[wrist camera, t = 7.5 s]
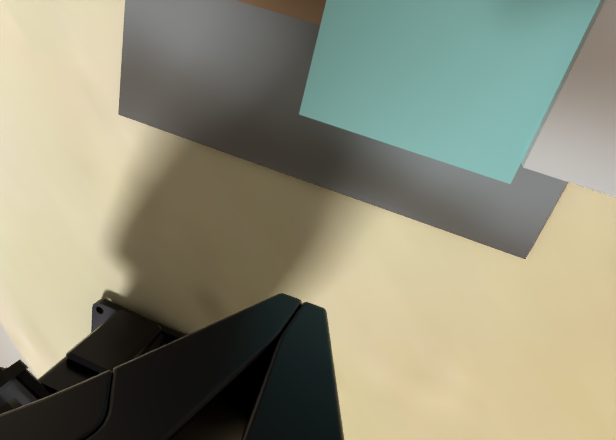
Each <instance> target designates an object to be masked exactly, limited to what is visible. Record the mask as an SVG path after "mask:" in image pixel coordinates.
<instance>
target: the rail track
mask: <svg viewBox="0 0 616 440" xmlns="http://www.w3.org/2000/svg"><path fill="white" fill-rule="evenodd" d="M325 4H326V0H125V14H124V31H123V48H122V64H121V81H120V98H119V115H121V116H124V117H127V118H130V119H133V120H136V121H138V122H141V123H144V124H147V125H150V126H152V127H155V128H158V129H161V130H164V131H166V132H169V133H172V134H175V135H178V136H180V137H183V138H186V139H189V140H192V141H195V142H197V143H200V144H203V145H206V146H209V147H211V148H214V149H217V150H220V151H223V152H225V153H228V154H231V155H234V156H237V157H240V158H242V159H245V160H248V161H251V162H254V163H256V164H259V165H262V166H265V167H268V168H270V169H273V170H276V171H279V172H282V173H284V174H287V175H290V176H293V177H296V178H299V179H301V180H304V181H307V182H310V183H313V184H315V185H318V186H321V187H324V188H327V189H329V190H332V191H335V192H338V193H341V194H344V195H346V196H349V197H352V198H355V199H358V200H360V201H363V202H366V203H369V204H372V205H374V206H377V207H380V208H383V209H386V210H388V211H391V212H394V213H397V214H400V215H403V216H405V217H408V218H411V219H414V220H417V221H419V222H422V223H425V224H428V225H431V226H433V227H436V228H439V229H442V230H445V231H448V232H450V233H453V234H456V235H459V236H462V237H464V238H467V239H470V240H473V241H476V242H478V243H481V244H484V245H487V246H490V247H492V248H495V249H498V250H501V251H504V252H507V253H509V254H512V255H515V256H518V257H521V258H523V259H526V257H527V255H528V253H529V252H530V250H531V248H532V246H533V244H534V243H535V241H536V239H537V237H538V235H539V234H540V232H541V230H542V228H543V226H544V224H545V223H546V221H547V219H548V217H549V215H550V214H551V212H552V210H553V208H554V206H555V205H556V203H557V201H558V199H559V197H560V196H561V194H562V192H563V190H564V188H565V186H566V185H567V183H568V182H570V183H573V184H576V185H579V186H582V187H585V188H588V189H591V190H594V191H597V192H600V193H604V194H607V195H610V196H613V197H616V0H601V1H600V3H599V5H598V7H597V9H596V11H595V13H594V15H593V17H592V19H591V21H590V23H589V25H588V27H587V29H586V31H585V33H584V35H583V38H582V40H581V42H580V44H579V46H578V48H577V50H576V52H575V54H574V56H573V58H572V60H571V62H570V64H569V66H568V68H567V70H566V72H565V74H564V76H563V78H562V80H561V82H560V84H559V86H558V88H557V90H556V93H555V95H554V97H553V99H552V101H551V103H550V105H549V107H548V109H547V111H546V113H545V115H544V117H543V119H542V121H541V123H540V125H539V127H538V129H537V131H536V133H535V135H534V137H533V139H532V141H531V143H530V145H529V148H528V150H527V152H526V154H525V156H524V158H523V160H522V162H521V164H520V166H519V168H518V170H517V172H516V174H515V176H514V178H513V180H512V182H511V184H508V183H505V182H502V181H499V180H496V179H493V178H490V177H487V176H484V175H481V174H478V173H475V172H472V171H469V170H466V169H463V168H460V167H457V166H454V165H451V164H447V163H444V162H441V161H438V160H435V159H432V158H429V157H426V156H423V155H420V154H417V153H414V152H411V151H408V150H405V149H402V148H399V147H396V146H393V145H390V144H387V143H384V142H381V141H378V140H375V139H372V138H369V137H366V136H363V135H360V134H357V133H354V132H351V131H348V130H345V129H342V128H339V127H336V126H333V125H330V124H327V123H324V122H321V121H317V120H314V119H311V118H308V117H305V116H302V115H299V112H300V107H301V103H302V99H303V95H304V91H305V87H306V83H307V79H308V74H309V70H310V66H311V62H312V58H313V54H314V50H315V45H316V41H317V37H318V33H319V29H320V25H321V21H322V17H323V12H324V8H325Z"/></svg>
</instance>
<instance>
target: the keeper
mask: <svg viewBox="0 0 616 440" xmlns="http://www.w3.org/2000/svg"><path fill="white" fill-rule="evenodd" d="M600 1H601V0H326V4H325V8H324V12H323V17H322V21H321V25H320V29H319V33H318V37H317V41H316V45H315V50H314V54H313V58H312V62H311V66H310V70H309V74H308V79H307V83H306V87H305V91H304V95H303V99H302V103H301V107H300V112H299V115H302V116H305V117H308V118H311V119H314V120H317V121H321V122H324V123H327V124H330V125H333V126H336V127H339V128H342V129H345V130H348V131H351V132H354V133H357V134H360V135H363V136H366V137H369V138H372V139H375V140H378V141H381V142H384V143H387V144H390V145H393V146H396V147H399V148H402V149H405V150H408V151H411V152H414V153H417V154H420V155H423V156H426V157H429V158H432V159H435V160H438V161H441V162H444V163H447V164H451V165H454V166H457V167H460V168H463V169H466V170H469V171H472V172H475V173H478V174H481V175H484V176H487V177H490V178H493V179H496V180H499V181H502V182H505V183H508V184H511V182H512V180H513V178H514V176H515V174H516V172H517V170H518V168H519V166H520V164H521V162H522V160H523V158H524V156H525V154H526V152H527V150H528V148H529V145H530V143H531V141H532V139H533V137H534V135H535V133H536V131H537V129H538V127H539V125H540V123H541V121H542V119H543V117H544V115H545V113H546V111H547V109H548V107H549V105H550V103H551V101H552V99H553V97H554V95H555V93H556V90H557V88H558V86H559V84H560V82H561V80H562V78H563V76H564V74H565V72H566V70H567V68H568V66H569V64H570V62H571V60H572V58H573V56H574V54H575V52H576V50H577V48H578V46H579V44H580V42H581V40H582V38H583V35H584V33H585V31H586V29H587V27H588V25H589V23H590V21H591V19H592V17H593V15H594V13H595V11H596V9H597V7H598V5H599V3H600Z"/></svg>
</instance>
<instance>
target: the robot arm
mask: <svg viewBox="0 0 616 440" xmlns="http://www.w3.org/2000/svg"><path fill="white" fill-rule="evenodd" d="M27 368H28V367H27V366H26V365H25V364H24V363H23V362H22V361H21V360H19V361H17V362H16V363H14V364H13V365H11V366H10V367H8V368H3V367H0V440H344V435H343V428H342V420H341V413H340V406H339V399H338V392H337V384H336V377H335V370H334V363H333V356H332V349H331V341H330V334H329V327H328V320H327V313H326V310H325V309H324V308H322V307H319V306H317V305H314V304H311V303H308V302H304V303H303V304H302V301H301V300H300V299H297V298H294V297H292V296H289V295H286V294H283V293H281V294H278V295H275V296H273V297H271V298H269V299H267V300H264V301H262V302H260V303H258V304H255V305H253V306H251V307H249V308H246V309H244V310H242V311H240V312H238V313H235V314H233V315H231V316H229V317H226V318H224V319H222V320H220V321H217V322H215V323H213V324H211V325H209V326H206V327H204V328H202V329H200V330H197V331H195V332H193V333H191V334H188V335H184V334H182V333H180V332H177V331H175V330H173V329H170V328H168V327H166V326H164V325H161V324H159V323H157V322H154V321H152V320H150V319H147V318H145V317H143V316H141V315H138V314H136V313H134V312H131V311H129V310H127V309H125V308H122V307H120V306H118V305H115V304H113V303H111V302H108V301H106V300H103V299H100V300H98V301H97V302H96V303H95V304H93V307H92V330H91V334H89V335H88V336H87V337H86V338H84V339H83V340H82V341H81V342H80V343H78V344H77V345H76V346H75V347H74V348H72V349H71V350H70V351H69V352H68V353H67V354H66V357H64V358H63V359H62V360H61V361H60V362H58V363H57V364H56V365H55V366H54V367H52V368H51V369H50V370H49V371H48V372H46V373H45V374H44V375H43V376H41V377H40V378H39V379H38V380H37V379H36V378H35V377H34V376H33V375H32V374H31V373H30V372H29V371H28V370H27Z"/></svg>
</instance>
